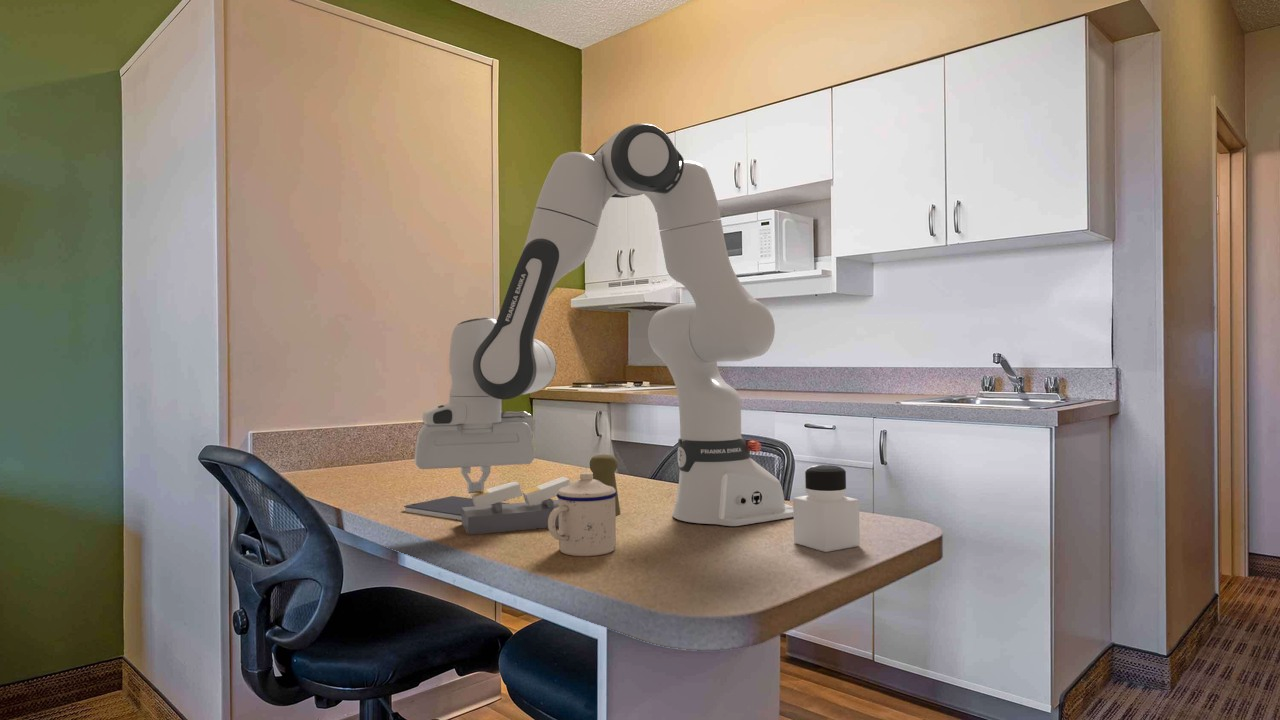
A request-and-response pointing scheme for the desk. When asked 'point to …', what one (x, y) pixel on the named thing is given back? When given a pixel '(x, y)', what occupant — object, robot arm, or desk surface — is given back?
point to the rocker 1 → (496, 494)
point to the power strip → (508, 517)
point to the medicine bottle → (826, 511)
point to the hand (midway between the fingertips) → (475, 492)
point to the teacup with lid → (585, 518)
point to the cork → (606, 473)
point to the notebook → (442, 507)
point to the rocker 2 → (544, 491)
